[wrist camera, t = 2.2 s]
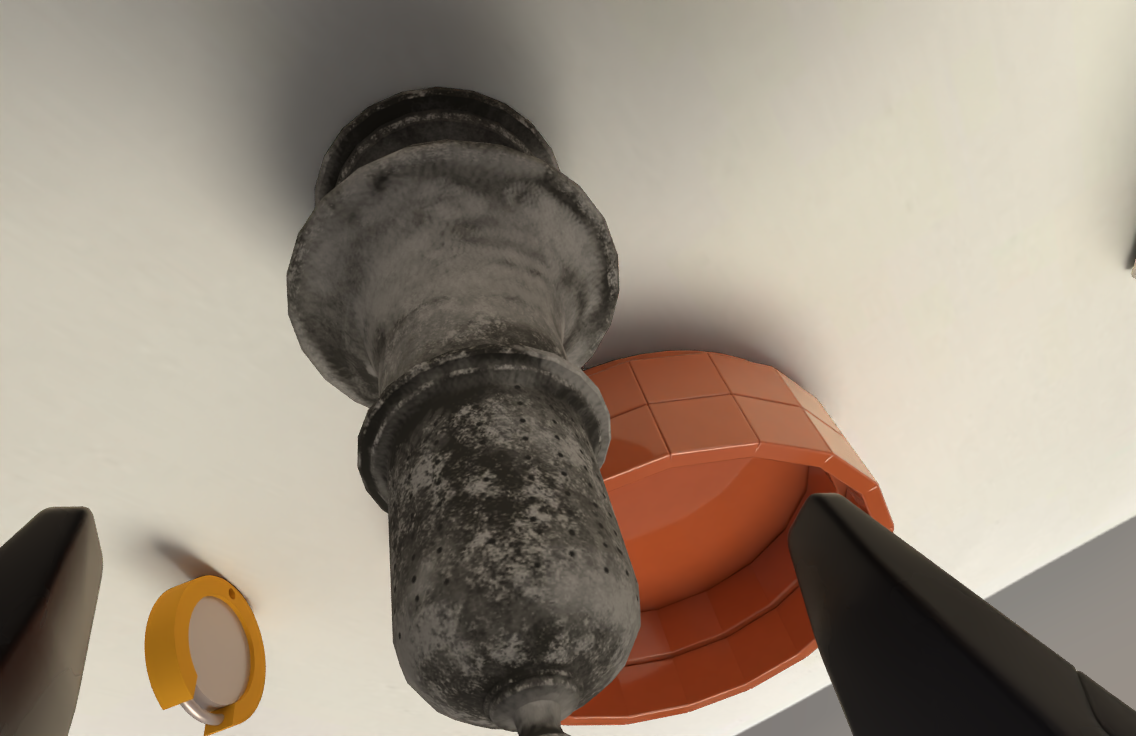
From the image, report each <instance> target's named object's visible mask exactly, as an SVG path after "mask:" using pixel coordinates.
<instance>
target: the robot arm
mask: <svg viewBox="0 0 1136 736" xmlns="http://www.w3.org/2000/svg"><path fill="white" fill-rule="evenodd" d="M787 542H788V549H789V552H790V556H791V559H792V563H793V566H794V569H795V573H796V576H797V580H798V583H799V587H800V590H801V593H802V597H803V600H804V604H805V607H806V610H807V614H808V617H809V621H810V624H811V628H812V631H813V634H814V637H815V640H816V643H817V646H818V649H819V651H820V654H821V657H822V659H823V662H824V665H825V667H826V670H827V672H828V675H829V677H830V680H831V682H832V684H833V687H834V689H835V692H836V694H837V697H838V699H839V702H840V704H841V707H842V709H843V712H844V714H845V717H846V719H847V722H848V724H849V726H850V729H851V732H852V734H853V736H1136V711H1135V710H1133V709H1132V708H1130V707H1129V706H1128V705H1126V704H1125V703H1123V702H1122V701H1121V700H1119V699H1118V698H1116V697H1115V696H1114V695H1112V694H1111V693H1109V692H1108V691H1107V690H1105V689H1104V688H1103V687H1101V686H1100V685H1098V684H1097V683H1096V682H1095V681H1093V680H1092V679H1090V678H1089V677H1088V676H1087V675H1085V674H1084V673H1082V672H1081V671H1076V669H1075V667H1074V666H1073V665H1071V664H1070V663H1069V662H1067V661H1066V660H1065V659H1063V658H1062V657H1060V656H1059V655H1058V654H1056V653H1055V652H1054V651H1052V650H1051V649H1050V648H1048V647H1047V646H1046V645H1044V644H1043V643H1041V642H1040V641H1039V640H1037V639H1036V638H1035V637H1033V636H1032V635H1031V634H1029V633H1028V632H1027V631H1025V630H1024V629H1023V628H1021V627H1020V626H1019V625H1017V624H1016V623H1014V622H1013V621H1012V620H1010V619H1009V618H1008V617H1006V616H1005V615H1003V614H1002V613H1001V612H999V611H998V610H997V609H995V608H994V607H993V606H991V605H990V604H989V603H987V602H986V601H985V600H983V599H982V598H981V597H979V596H978V595H976V594H975V593H974V592H972V591H971V590H970V589H968V588H967V587H966V586H964V585H963V584H962V583H960V582H959V581H958V580H956V579H955V578H953V577H952V576H951V575H949V574H948V573H947V572H945V571H944V570H943V569H941V568H940V567H939V566H937V565H936V564H934V563H933V562H932V561H930V560H929V559H928V558H926V557H925V556H924V555H922V554H921V553H920V552H918V551H917V550H915V549H914V548H913V547H911V546H910V545H909V544H907V543H906V542H905V541H903V540H902V539H901V538H899V537H898V536H896V535H895V534H894V533H892V532H891V531H890V530H888V529H887V528H886V527H884V526H883V525H882V524H880V523H879V522H878V521H876V520H875V519H873V518H872V517H871V516H869V515H868V514H867V513H865V512H864V511H863V510H861V509H860V508H859V507H857V506H856V505H854V504H853V503H852V502H850V501H849V500H848V499H846V498H845V497H843V496H842V495H840V494H837V493H814V494H811V495H810V496H809V497H808V498H807V499H806V500H805V502H804V504H803V506H802V507H801V509H800V511H799V513H798V515H797V516H796V518H795V520H794V522H793V524H792V525H791V527H790V529H789V532H788V539H787ZM102 570H103V556H102V551H101V547H100V542H99V538H98V534H97V529H96V525H95V521H94V517H93V514H92V512H91V511H90V509H89V508H87V507H83V506H81V507H50V508H46V509H44V510H42V511H41V512H39V513H38V514H37V515H36V516H35V517H34V518H32V519H31V520H30V521H29V522H28V523H27V524H26V525H25V526H24V527H23V528H21V529H20V530H19V531H18V532H17V533H16V534H15V535H14V536H13V537H12V538H10V539H9V540H8V541H7V542H6V543H5V544H4V545H3V546H2V547H0V736H68V733H69V729H70V726H71V723H72V719H73V716H74V712H75V708H76V704H77V699H78V695H79V690H80V685H81V680H82V675H83V670H84V665H85V660H86V655H87V650H88V644H89V639H90V634H91V629H92V624H93V619H94V614H95V609H96V604H97V599H98V593H99V588H100V583H101V578H102Z"/></svg>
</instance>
